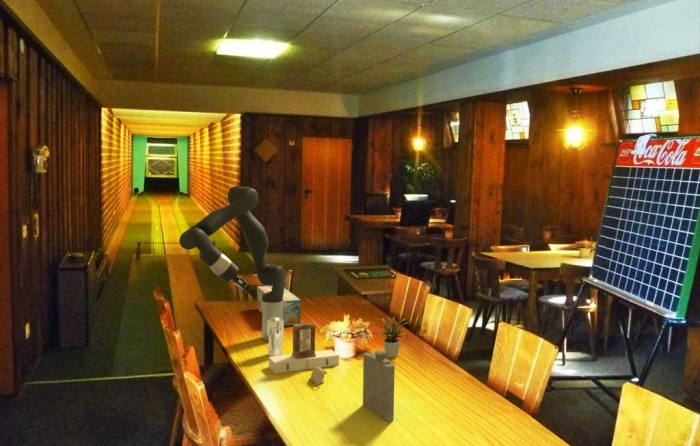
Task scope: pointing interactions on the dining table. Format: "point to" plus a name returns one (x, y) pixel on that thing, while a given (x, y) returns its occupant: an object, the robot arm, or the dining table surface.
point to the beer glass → (275, 335)
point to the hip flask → (378, 384)
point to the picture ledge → (303, 361)
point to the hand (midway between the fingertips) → (252, 294)
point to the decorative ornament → (318, 375)
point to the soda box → (284, 305)
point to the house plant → (392, 338)
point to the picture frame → (303, 340)
